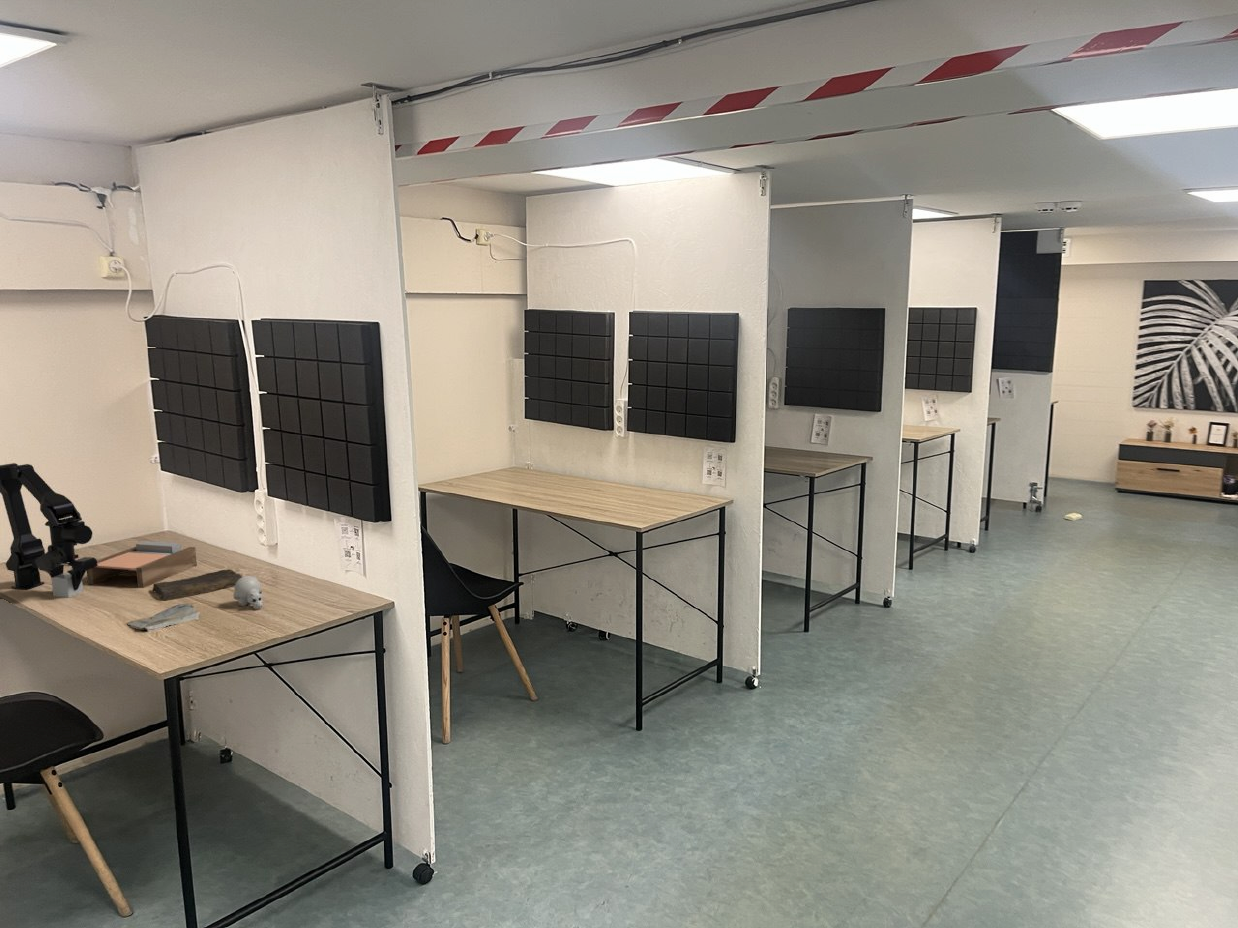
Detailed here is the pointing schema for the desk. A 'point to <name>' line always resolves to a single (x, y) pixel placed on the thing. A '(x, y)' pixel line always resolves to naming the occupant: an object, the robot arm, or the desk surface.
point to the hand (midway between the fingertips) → (67, 589)
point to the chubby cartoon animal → (248, 592)
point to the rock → (196, 585)
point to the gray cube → (64, 586)
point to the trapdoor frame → (148, 567)
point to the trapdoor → (141, 555)
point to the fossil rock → (167, 617)
